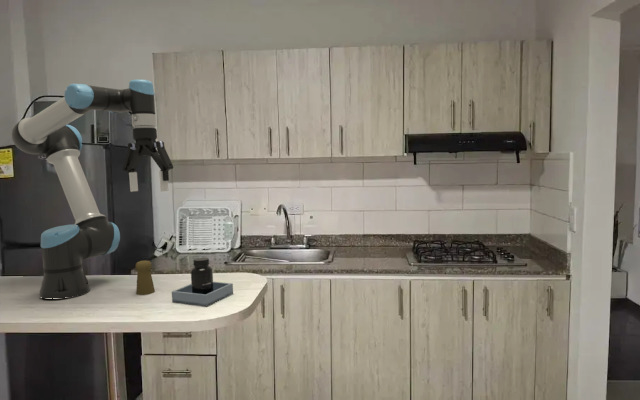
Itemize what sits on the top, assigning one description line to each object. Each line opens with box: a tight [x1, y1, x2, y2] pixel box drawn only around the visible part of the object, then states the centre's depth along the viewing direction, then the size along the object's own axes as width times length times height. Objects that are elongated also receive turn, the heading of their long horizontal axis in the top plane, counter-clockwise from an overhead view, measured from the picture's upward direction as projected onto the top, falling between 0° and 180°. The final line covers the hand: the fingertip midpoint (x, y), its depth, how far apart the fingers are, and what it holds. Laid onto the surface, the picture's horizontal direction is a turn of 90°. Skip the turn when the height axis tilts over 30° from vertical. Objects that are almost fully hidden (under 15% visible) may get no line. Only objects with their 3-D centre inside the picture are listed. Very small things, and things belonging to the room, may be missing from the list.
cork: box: [135, 260, 156, 296], centre depth 154 cm, size 6×6×11 cm
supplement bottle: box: [190, 257, 214, 294], centre depth 144 cm, size 7×7×12 cm
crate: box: [171, 281, 234, 308], centre depth 145 cm, size 14×14×4 cm
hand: (149, 191), depth 152 cm, fingers open, 13 cm apart
